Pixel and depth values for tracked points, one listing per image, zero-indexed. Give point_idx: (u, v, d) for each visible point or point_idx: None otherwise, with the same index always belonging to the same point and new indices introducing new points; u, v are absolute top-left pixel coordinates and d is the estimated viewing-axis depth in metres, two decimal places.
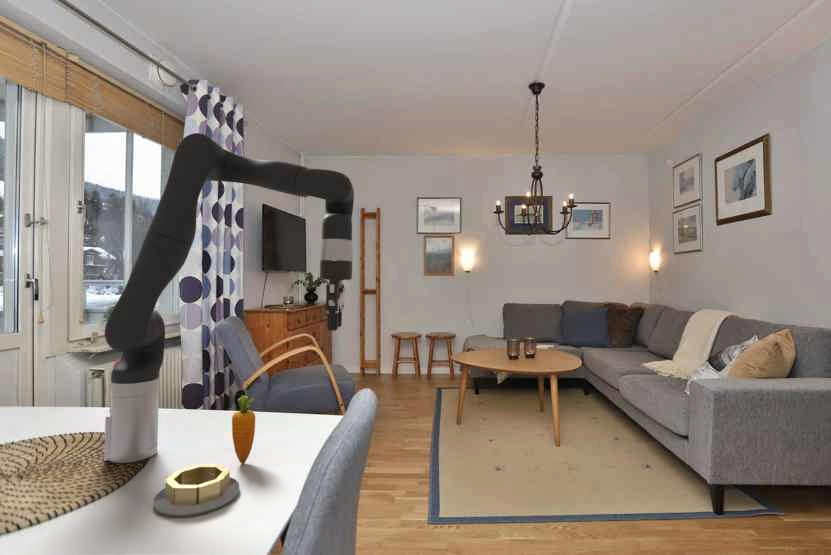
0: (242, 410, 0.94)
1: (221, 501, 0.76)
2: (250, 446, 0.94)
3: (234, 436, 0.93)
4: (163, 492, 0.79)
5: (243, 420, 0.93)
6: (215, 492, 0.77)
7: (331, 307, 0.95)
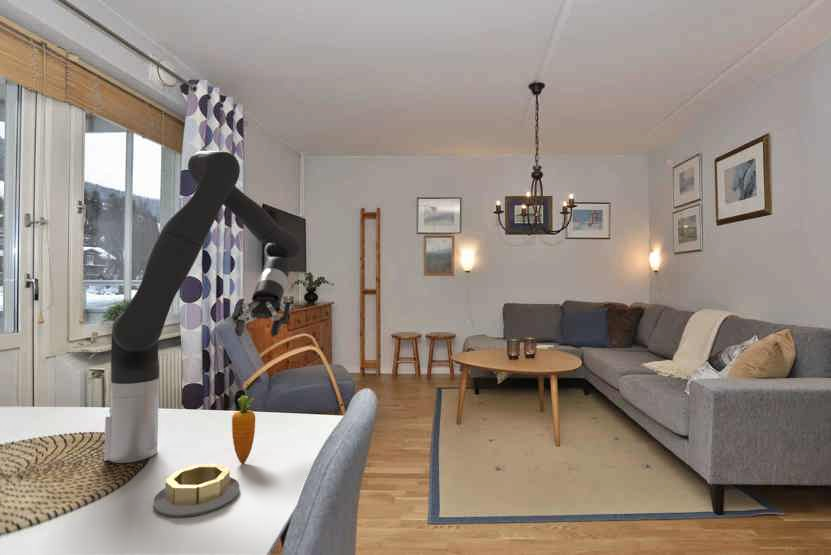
0: (242, 410, 0.94)
1: (221, 501, 0.76)
2: (250, 446, 0.94)
3: (234, 436, 0.93)
4: (163, 492, 0.79)
5: (243, 420, 0.93)
6: (215, 492, 0.77)
7: (288, 319, 1.12)
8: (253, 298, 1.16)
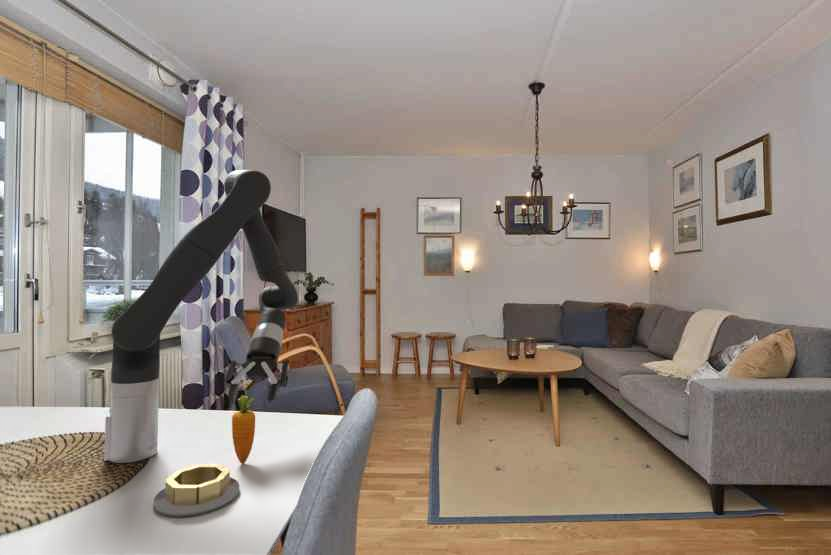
0: (242, 410, 0.94)
1: (221, 501, 0.76)
2: (250, 446, 0.94)
3: (234, 436, 0.93)
4: (163, 492, 0.79)
5: (243, 420, 0.93)
6: (215, 492, 0.77)
7: (286, 381, 1.04)
8: (247, 357, 1.07)
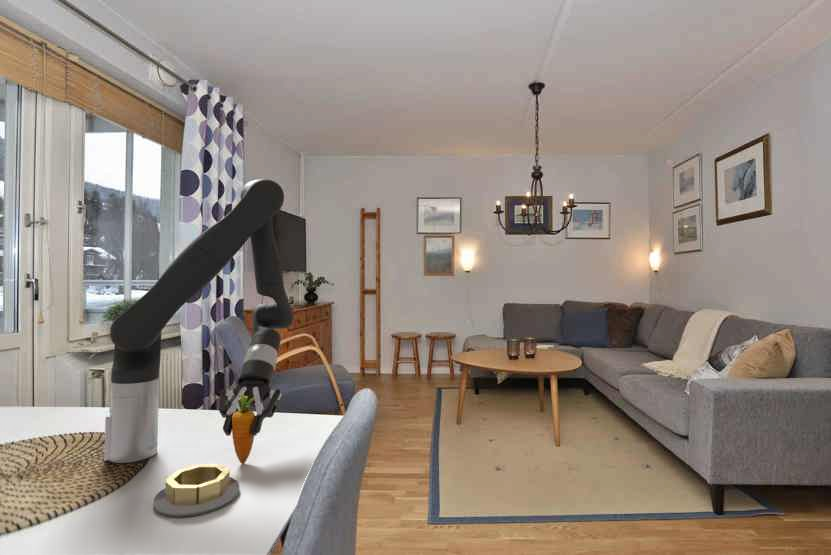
0: (242, 410, 0.94)
1: (221, 501, 0.76)
2: (250, 446, 0.94)
3: (234, 436, 0.93)
4: (163, 492, 0.79)
5: (243, 420, 0.93)
6: (215, 492, 0.77)
7: (271, 411, 0.97)
8: (239, 382, 1.01)
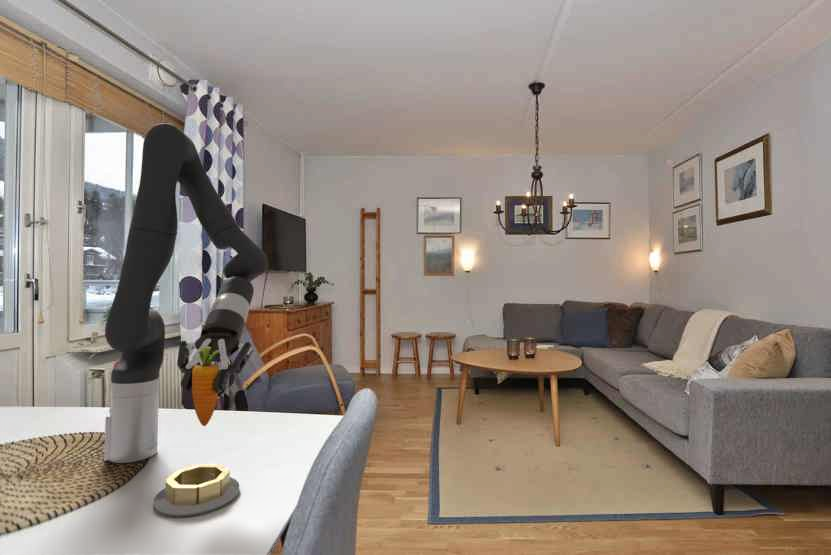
0: (204, 363, 0.81)
1: (221, 501, 0.76)
2: (213, 405, 0.81)
3: (194, 393, 0.79)
4: (163, 492, 0.79)
5: (205, 374, 0.79)
6: (215, 492, 0.77)
7: (239, 366, 0.84)
8: (202, 333, 0.87)
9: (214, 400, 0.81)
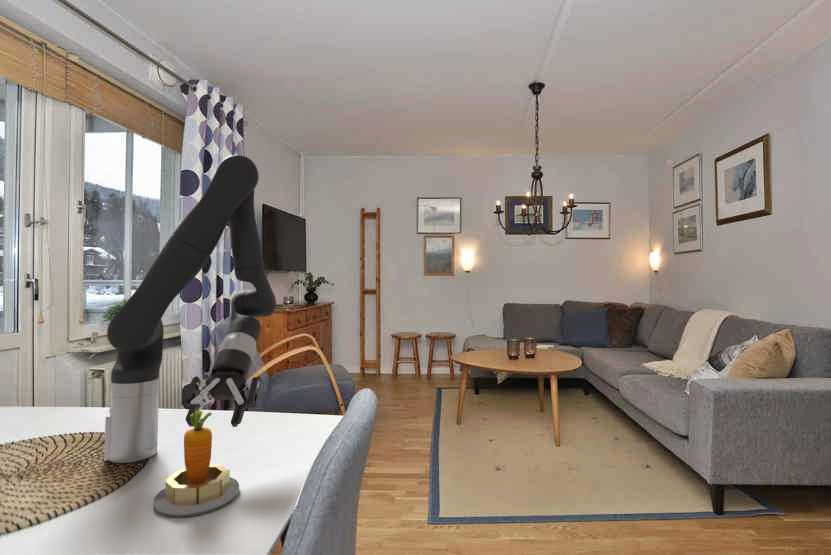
0: (196, 428, 0.80)
1: (221, 501, 0.76)
2: (206, 470, 0.80)
3: (186, 459, 0.78)
4: (163, 492, 0.79)
5: (196, 440, 0.78)
6: (215, 492, 0.77)
7: (254, 401, 0.90)
8: (212, 372, 0.93)
9: (207, 465, 0.80)
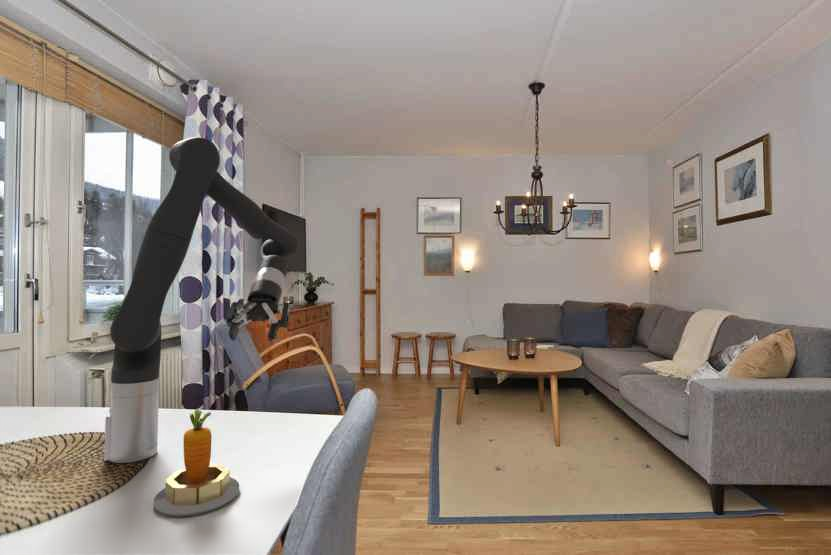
0: (195, 427, 0.80)
1: (221, 501, 0.76)
2: (206, 470, 0.80)
3: (185, 459, 0.78)
4: (163, 492, 0.79)
5: (196, 439, 0.78)
6: (215, 492, 0.77)
7: (286, 321, 1.04)
8: (248, 299, 1.07)
9: (206, 465, 0.80)
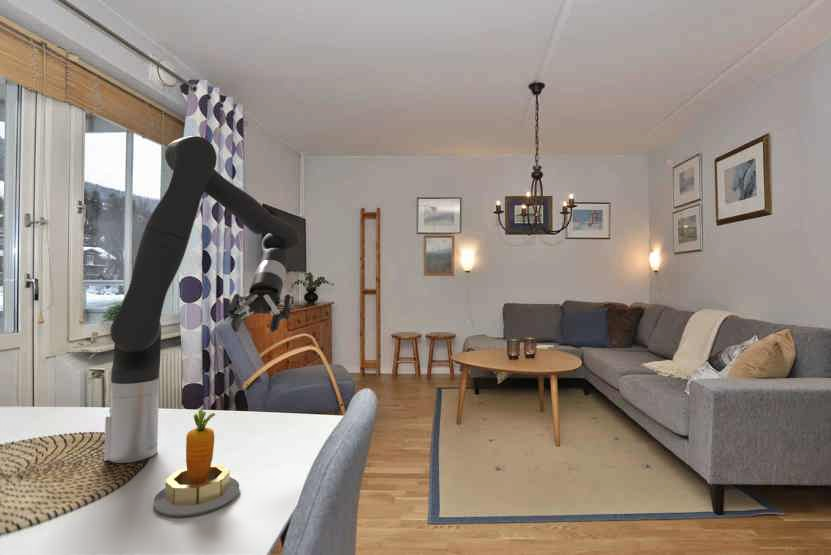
0: (199, 428, 0.79)
1: (221, 501, 0.76)
2: (207, 471, 0.80)
3: (187, 459, 0.78)
4: (163, 492, 0.79)
5: (199, 440, 0.78)
6: (215, 492, 0.77)
7: (288, 313, 1.05)
8: (250, 291, 1.08)
9: (208, 466, 0.79)
